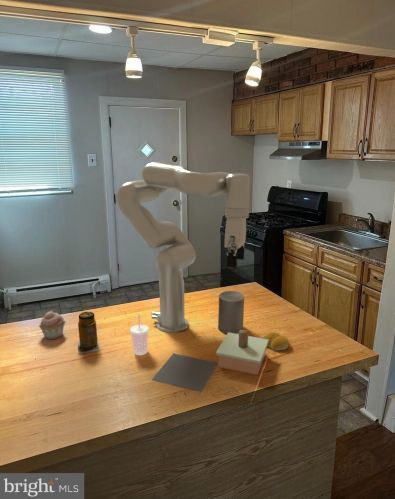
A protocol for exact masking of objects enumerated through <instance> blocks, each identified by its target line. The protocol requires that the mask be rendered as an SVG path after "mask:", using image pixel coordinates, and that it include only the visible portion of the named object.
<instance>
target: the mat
mask: <svg viewBox="0 0 395 499" xmlns="http://www.w3.org/2000/svg"><path fill="white" fill-rule="evenodd" d="M217 367H218V362H217V361H212V360H206V359H203V358H202V359H201V358H197V357H193V356H189V355H183V354H179V353H172V354H171V356H170V357H169V358H168V359H167V360H166V361H165V363H164V364H163V365H162V366H161V367H160V369H159V370H158V371H157V373H155V375H154V376H153V378H151V381H153V382H158V383H162V384H166V385H170V386H175V387H179V388H183V389H187V390H192V391H194V392H199V393H202V392H203V391H204V389H205V387H206V385H207V383H208V382H209V380H210V378H211V376H212V375H213V373H214V371H215V370H216V368H217Z"/></svg>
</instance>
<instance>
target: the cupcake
mask: <svg viewBox="0 0 395 499" xmlns="http://www.w3.org/2000/svg"><path fill="white" fill-rule="evenodd" d="M66 323H67V321H66V320H64V317H63V316H62V315H60V314H59V313H58V312H54V311H53V310H52V309H51V310H50V311H47V312H46V313H45V315H44V316H43V317H42V318H41V322H40V323H39V325H38V327H39V328H40V330H41V331H42V332H41V333H42V334H43V337H44V338H45V339H46V340H55V339H59V338H60V337H62V336H63V334H64V327H65V325H66Z"/></svg>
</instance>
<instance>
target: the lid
mask: <svg viewBox="0 0 395 499" xmlns="http://www.w3.org/2000/svg"><path fill="white" fill-rule="evenodd" d="M268 342H269V340H268V339H263V338H261V337H256V336H251V335H249V330H246V329H243V330H240V331H239V333H237V334H235V333H229V332H228V334H226V335H225V337H224V339H223V340H222V341H221V343H220V344H219V347H218V348H217V350H216V352H215V355H216V356H219V355H220V356H224V357H229V358H234V359H239V360H244V361H249V362H254V363H259V364H260V362H261V360H262V357H263V355H264V352H265V349H267V348H268V347H267V344H268Z"/></svg>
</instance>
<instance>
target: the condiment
mask: <svg viewBox="0 0 395 499" xmlns="http://www.w3.org/2000/svg"><path fill="white" fill-rule="evenodd" d="M77 327H78V338H79V341H77V342H76V343H77V344H76V345H77V351H78V354H88V353H92V352H98V351H101V346H100V341H99V338H98V330H97V321H96V318H95V313H94V312H92V311H83V312H81V313H79V315H78V323H77Z"/></svg>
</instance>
